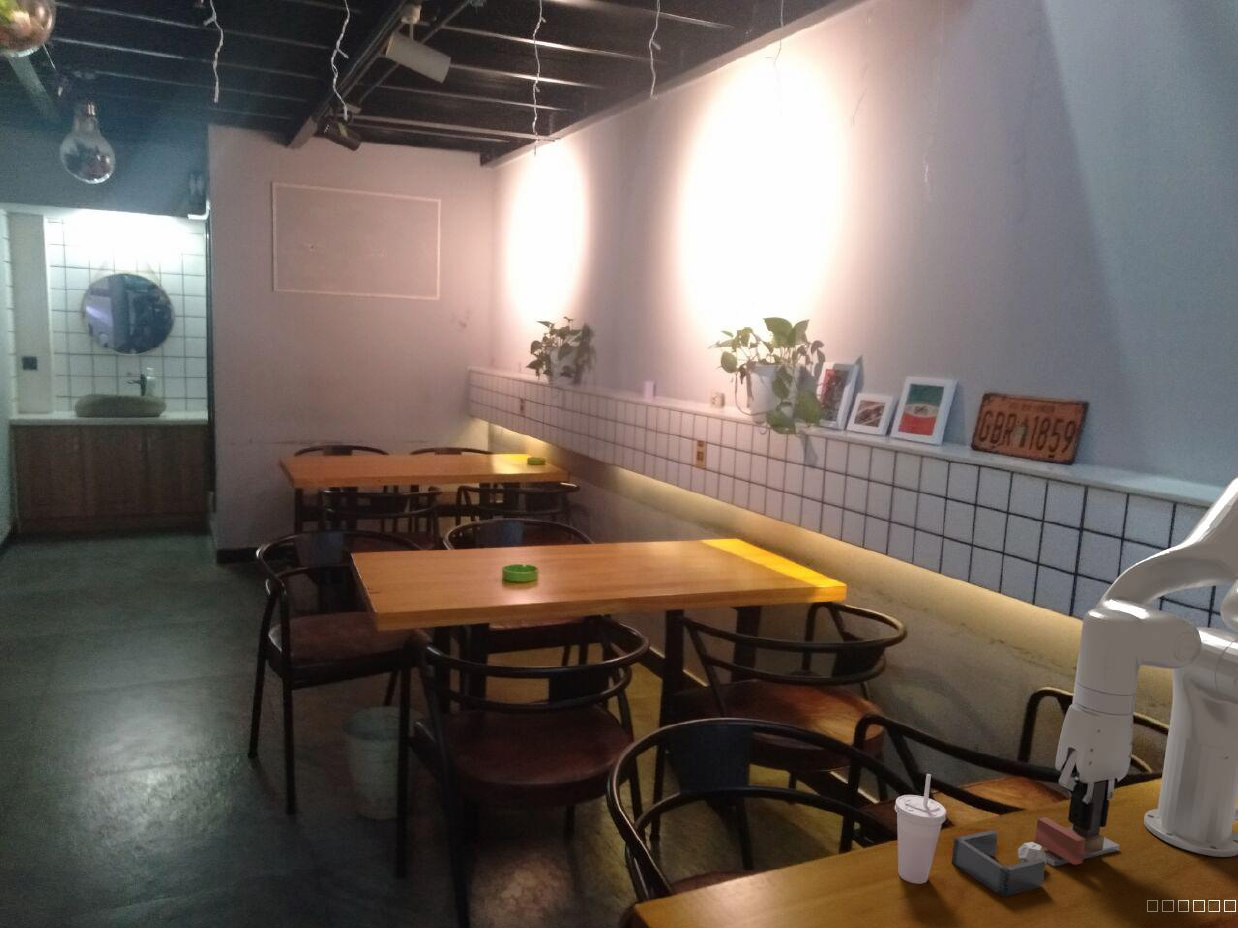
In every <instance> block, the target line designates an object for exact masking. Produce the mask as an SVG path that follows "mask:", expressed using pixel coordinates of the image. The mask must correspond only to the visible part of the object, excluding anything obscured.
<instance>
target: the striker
mask: <svg viewBox="0 0 1238 928" xmlns="http://www.w3.org/2000/svg"><path fill="white" fill-rule="evenodd" d="M1079 785H1081V786H1082V787H1083V789H1084V786H1085V785H1084V784H1082V783H1080V782H1079ZM1105 787H1106V781H1105V780H1103V781H1098V782H1094V787H1093V793H1092V799H1091V803H1093V804H1094V808H1093V816H1092V823H1091V829H1090V830H1088V831H1085V830H1083V829H1082V828H1080V827H1078V826H1076V825H1074V824H1072V826H1071V827H1064V826H1062V825H1060V824H1059V823H1057V822H1056V821H1053V820H1051V819H1050V818H1049V817H1047V816H1046V817H1045V816H1044V817H1040V818H1037V822H1036V830H1035V838H1034V843H1035V842H1036V844H1038V845H1040V846H1042V848H1045V849H1047V850H1050V851H1052V852H1053V853H1055V854H1057V855H1059V856H1060V857H1062V858H1064V859H1065V860H1067V861H1069V862H1070V863H1069V864H1072V865H1079V864H1083V861H1084V859H1083V855H1086V854H1090V853H1094V852H1098V851H1102V850H1103V843H1104V837H1105V836H1103V835H1101V834H1100V831H1101V827H1100V823H1101V816H1102V808H1103V801H1104V794H1105Z"/></svg>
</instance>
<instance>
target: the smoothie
mask: <svg viewBox="0 0 1238 928" xmlns="http://www.w3.org/2000/svg"><path fill="white" fill-rule="evenodd" d="M931 777H932V774H930V773H927V774H926V777H925V785H924V793H923V796H921V795H916V794H915V795H914V794H904V795H901V796H898V797H897V798H896V800H895V805H894V810H895V812H896V813H897V815H896V817H897V818H896V824H897V830H896V831H897V864H898V865H897V866H898V867H897V868H898V869H897V870H898V875H899V877H900V878H901V879H902V880H904V881H906V882H908V883H912V884H918V885H920V884H921V885H922V884H924V883H927V882H928V879H929V875H930V872H931V868H932V864H933V860H934V856H935V852H936V848H937V844H938V840H939V837H940V833H941V829H942V825H943V823H945V821H946V819H947V818H946V814H947V810H946V807H944V806H943V804H941V803H940V802H938V801H937V800H934V799H932V798H929V796H930V789H931V788H930V787H931Z"/></svg>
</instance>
